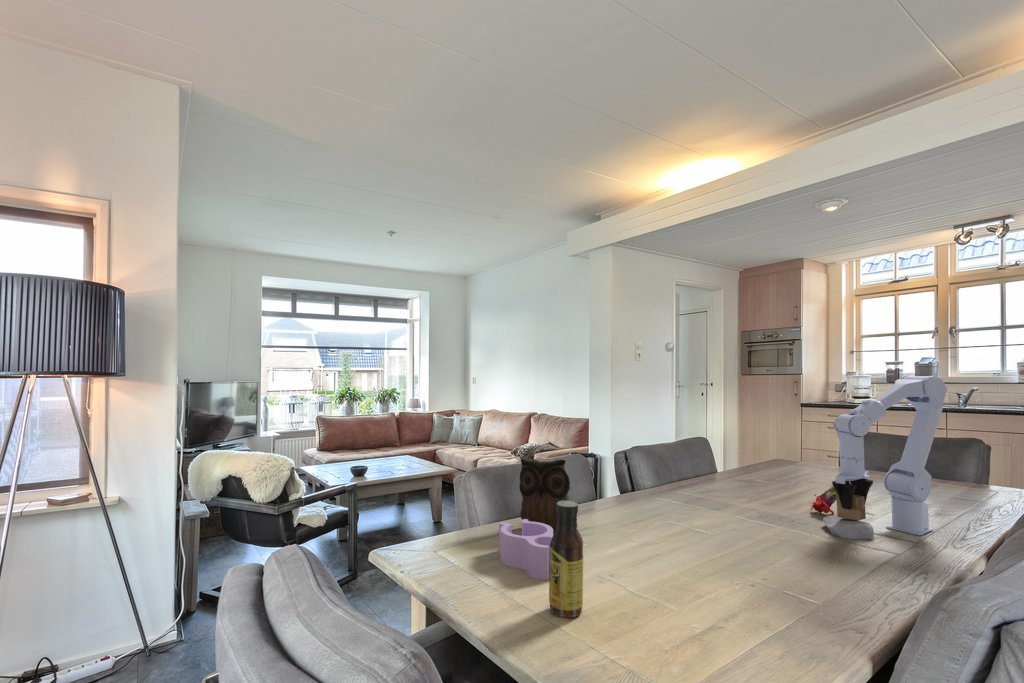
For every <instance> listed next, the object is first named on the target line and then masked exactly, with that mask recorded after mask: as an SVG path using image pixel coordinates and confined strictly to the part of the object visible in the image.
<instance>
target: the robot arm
mask: <svg viewBox="0 0 1024 683" xmlns="http://www.w3.org/2000/svg"><path fill="white" fill-rule="evenodd" d="M947 392H948V388H947V386H946V384H945V382H944V381H943V379H942V378H940V377H939V376H936V375H927V376H926V375H925V376H924V375H923V376H922V375H920V376H919V375H903V376H900V377H899V379H896V380H895V381H894V384H893V385H892V386H891V387H889V389H887V390H886V391H885V392H884V393H882V394H881V395H880V396H879V397H877V398H876V399H872V398H871V399H864V400H861V404H860V405H858V406H857V407H855V408H853V409H850V410H849V412H848V413H847V414H845V413H844V414H843V413H842V414H839V415H838V416H837V417H836V419H834V422H833V423H832V424H833V425H832V426H833V429H834V430H835V432H836V433H837V434H836V435H837V438H838V443H839V447H838V448H839V468H840V469H839V470H840V471H839V472H838V473H837V474H836V475H835V480H833V481H831V484H832V486H834V488H835V489H836V491H837V493H838V496H839V499H840V502H841V506H842V508H844V509H849V510H851V509H852V505H853V496H854V495H857V496H864V500H865V504H866V502H867V498H868V493H869V491H870V489H871V487H872V485H873V484H874V480H872V479H870V478H871V476H870V474H869V471H868V470H866V468H865V446H864V445H865V444H864V443H865V442H864V436H866V435H867V434H868V432H869V429H870V427H872V425H873V424H875V423H876V422H878V421H879V420H880V419H881V418H882V419H883V417H885V416H886V410H887V409H889V408H891V407H893V406H894V405H896V404H897V403H899V402H901V401H903V400H904V399H905V400H906V402H908V403H909V405H910V406H911V407H914V409H915V411H916V412H915V415H914V418H913V420H912V424H911V427H910V431H909V433H908V435H907V436H908V437H907V438H906V439H907V440H906V442H905V446H904V448H903V449H904V450H903V451H902V455H901V458H900V461H897V462H896V463H893V464H891V466H890V468H889V470H888V471H887V473H886V474H885V475H884V477H883V487H884V488H885V489H886V491H888V494H889V496H891V497H890V498H891V501H890V502H891V503H890V504H891V522H892V523H891V524H887V525H886V526H885V528H886V529H890V530H894V531H899V532H903V533H907V534H912V535H915V536H922V535H924V534H926V533H929V532H931V531H933V530H934V528H932V527H930V525H929V521H930V519H929V507H928V506H929V505H928V504H927V502H926V501H927V499H928V497H930V495H931V492H932V486H931V483H932V478H933V476H932V475H931V474H930V472H928V470H926V468H925V467H926V464H927V461H928V458H929V455H930V451H931V448H932V445H933V441H934V438H935V435H936V432H937V429H938V425H939V423H940V418H942V417H941V416H942V413H943V407H944V406H943V404H944V400H945V398H946V394H947Z"/></svg>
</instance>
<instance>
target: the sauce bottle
mask: <svg viewBox="0 0 1024 683" xmlns="http://www.w3.org/2000/svg"><path fill="white" fill-rule="evenodd" d="M556 511H557V525H556V528H555V531H554V534H553V537H552V540H551V543H550V559H549V560H550V563H549V580H548V581H549V582H548V584H549V586H548V587H549V588H548V591H549V593H548V595H549V596H548V602H549V610H550V611H551V612H552V614H553V615H555V616H556V617H558V618H566V619H569V618H570V619H571V618H575V617H579V616H581V614H582V612H583V605H584V540H583V538H582V535H581V533H580V532H579V530H578V512H579V504H578V503H577V502H575V501H573V500H570V501H559V502H558V503H557V504H556Z"/></svg>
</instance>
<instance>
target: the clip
mask: <svg viewBox="0 0 1024 683" xmlns="http://www.w3.org/2000/svg"><path fill="white" fill-rule="evenodd" d="M521 520H522V519H521ZM552 537H553V528H552V527H551V526H549V525H547V524H543V523H539V522H531V521H528V519H523V520H522V521H521V535H520V534H519V535H518V534H514V533H513V532H512V523H509V522H499V523H498V552H499V554H500V556H499V557H500V558H499V559H500V561H501V562H502V563H503V564H504V565H506V566H508V567H512V568H516V569H521V570H525V572H527V575H529V576H530V577H531V578H534V579H537V580H541V581H543V580H544V581H549V563H550V560H549V559H550V543H551V540H552Z"/></svg>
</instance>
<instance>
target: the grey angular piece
mask: <svg viewBox="0 0 1024 683" xmlns="http://www.w3.org/2000/svg"><path fill="white" fill-rule="evenodd" d="M822 521H823V523H824V524H825V526H826V527H827V529H828V530H829V532H830V534H832V535H834V536H836V537H839V538H840V539H841V538H842V539H852V540H853V539H854V540H855V539H856V540H857V539H858V540H859V539H860V540H874V539H875V535H874V534H875V533H874V527H873V525H872V524H871V523H869V522H866V521H862V520H858V521H857V520H851V519H846V518H840V517H837V514H836V515H835V514H834V515H832V516H831V515H830V516H825V517H823V518H822Z"/></svg>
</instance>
